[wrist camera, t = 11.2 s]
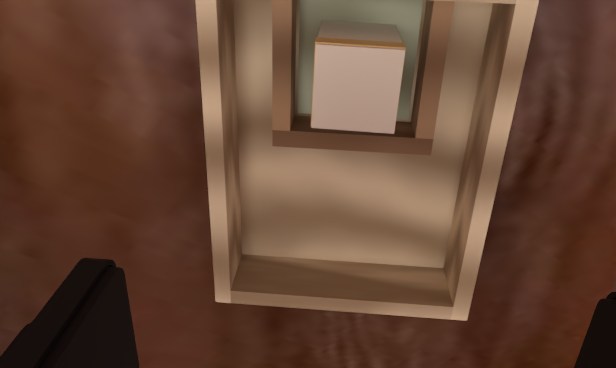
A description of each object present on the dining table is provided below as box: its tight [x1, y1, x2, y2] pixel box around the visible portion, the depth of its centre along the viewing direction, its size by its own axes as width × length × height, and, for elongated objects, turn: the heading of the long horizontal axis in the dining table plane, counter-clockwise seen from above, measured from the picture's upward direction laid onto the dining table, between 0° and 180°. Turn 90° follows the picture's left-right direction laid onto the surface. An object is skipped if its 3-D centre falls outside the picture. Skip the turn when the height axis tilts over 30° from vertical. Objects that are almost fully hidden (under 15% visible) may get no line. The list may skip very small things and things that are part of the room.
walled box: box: [196, 0, 539, 321], centre depth 31 cm, size 20×16×5 cm
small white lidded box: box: [311, 20, 406, 134], centre depth 27 cm, size 4×4×6 cm
